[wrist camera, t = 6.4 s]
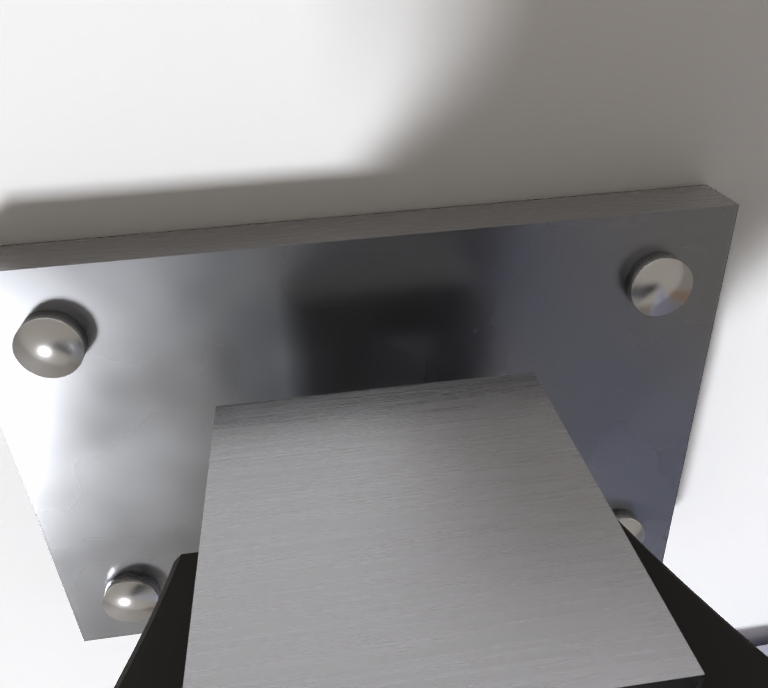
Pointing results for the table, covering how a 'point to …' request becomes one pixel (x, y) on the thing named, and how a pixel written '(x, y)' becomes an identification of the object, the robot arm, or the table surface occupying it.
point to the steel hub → (418, 550)
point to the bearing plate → (342, 354)
